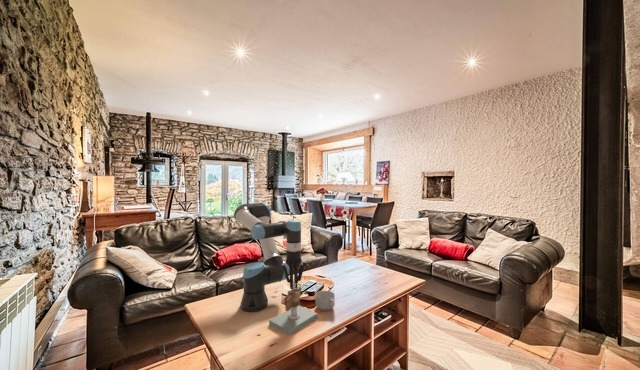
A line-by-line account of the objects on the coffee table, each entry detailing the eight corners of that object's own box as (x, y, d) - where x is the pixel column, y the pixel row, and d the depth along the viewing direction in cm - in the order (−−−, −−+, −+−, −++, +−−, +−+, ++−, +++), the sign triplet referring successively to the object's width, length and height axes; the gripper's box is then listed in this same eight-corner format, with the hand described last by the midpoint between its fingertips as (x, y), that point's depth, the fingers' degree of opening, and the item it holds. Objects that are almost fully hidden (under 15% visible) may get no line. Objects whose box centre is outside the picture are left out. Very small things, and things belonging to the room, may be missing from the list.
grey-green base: (269, 324, 129) (269, 307, 129) (298, 309, 144) (298, 294, 144) (288, 335, 120) (288, 317, 120) (317, 318, 135) (317, 301, 135)
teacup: (312, 305, 149) (312, 291, 149) (330, 302, 153) (330, 288, 153) (321, 317, 136) (321, 302, 136) (340, 313, 140) (340, 298, 140)
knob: (305, 297, 139) (305, 285, 139) (292, 313, 123) (292, 300, 123) (294, 296, 141) (294, 284, 141) (281, 311, 125) (280, 298, 125)
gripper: (283, 253, 132) (283, 299, 132) (307, 250, 137) (307, 295, 137) (280, 249, 139) (280, 293, 139) (303, 247, 144) (303, 289, 144)
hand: (293, 294), depth 138 cm, fingers closed
